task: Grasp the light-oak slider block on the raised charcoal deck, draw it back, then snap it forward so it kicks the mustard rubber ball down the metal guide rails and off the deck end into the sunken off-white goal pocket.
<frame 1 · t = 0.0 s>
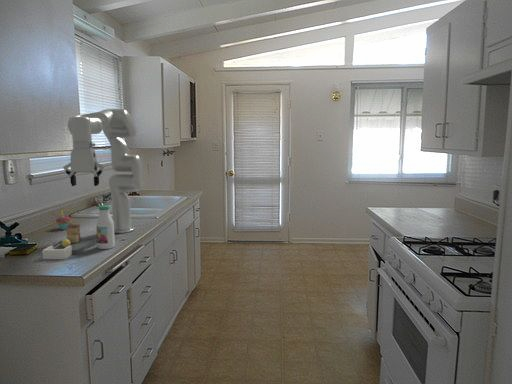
hand: (85, 185, 169), 31 cm above the counter, tool pointing down, fingers open, 9 cm apart
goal: (58, 256, 171), on the counter
milk bottle: (106, 247, 185), on the counter
deck: (69, 249, 182), on the counter
slider: (73, 233, 186), point 6 cm above the counter, slide at 2.0 cm
ball: (66, 243, 179), point 4 cm above the counter, touching deck
rails: (65, 251, 178), resting on deck
cupcake: (64, 228, 223), on the counter
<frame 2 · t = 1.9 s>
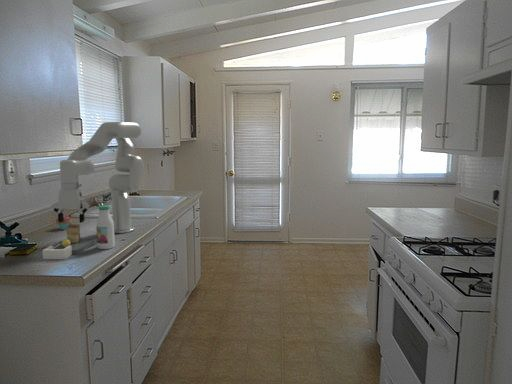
hand: (71, 222, 185), 12 cm above the counter, tool pointing down, fingers open, 9 cm apart
nothing on the counter moved.
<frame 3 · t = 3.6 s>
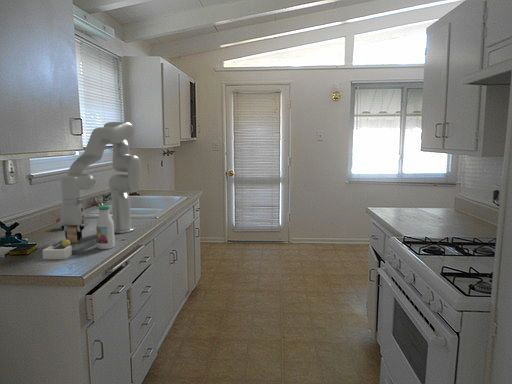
hand: (73, 238, 187), 4 cm above the counter, tool pointing down, fingers closed on slider, 4 cm apart
slider: (73, 233, 186), point 6 cm above the counter, slide at 2.0 cm, touching gripper
everything else where it was.
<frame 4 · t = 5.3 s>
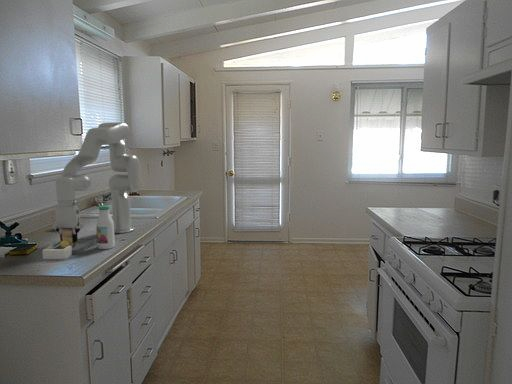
hand: (69, 241, 182), 4 cm above the counter, tool pointing down, fingers closed on slider, 4 cm apart
slider: (68, 236, 181), point 6 cm above the counter, slide at 6.9 cm, touching gripper
ball: (64, 244, 177), point 4 cm above the counter, tilted 49°, touching deck
everything else where it was.
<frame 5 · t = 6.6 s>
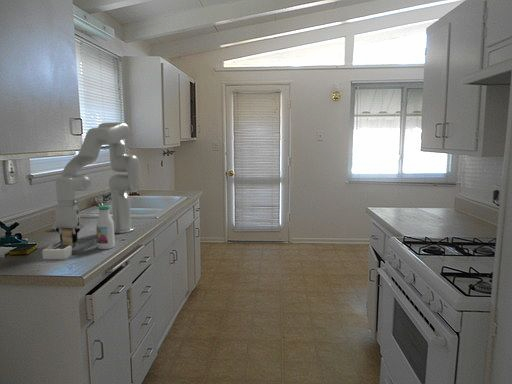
hand: (69, 241, 182), 4 cm above the counter, tool pointing down, fingers closed on slider, 4 cm apart
slider: (68, 236, 181), point 6 cm above the counter, slide at 7.0 cm, touching gripper
ball: (57, 252, 171), point 2 cm above the counter, tilted 81°
everything else where it was.
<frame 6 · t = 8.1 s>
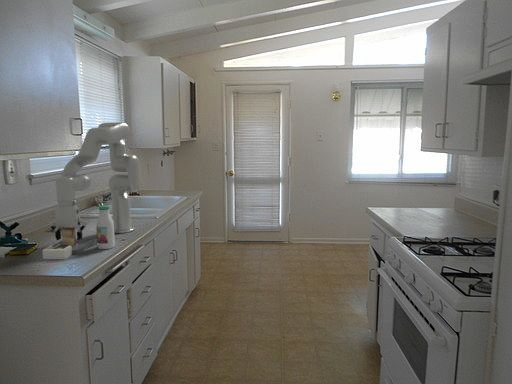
hand: (69, 239, 182), 5 cm above the counter, tool pointing down, fingers open, 9 cm apart
slider: (68, 236, 181), point 6 cm above the counter, slide at 7.0 cm
ball: (59, 251, 172), point 2 cm above the counter, tilted 124°
everything else where it was.
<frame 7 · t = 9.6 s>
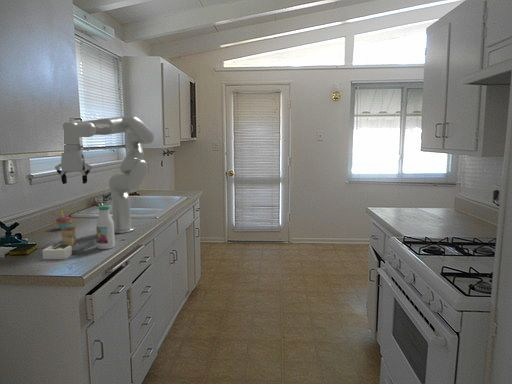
hand: (74, 183, 190), 30 cm above the counter, tool pointing down, fingers open, 9 cm apart
nothing on the counter moved.
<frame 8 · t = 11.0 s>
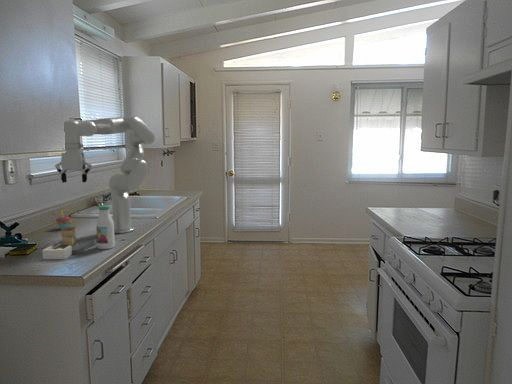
hand: (74, 182, 190), 30 cm above the counter, tool pointing down, fingers open, 9 cm apart
nothing on the counter moved.
at the end: ball inside the target area (1.0 cm from its centre), point 1.8 cm above the counter; slider slide at 7.0 cm; the gripper is holding nothing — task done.
